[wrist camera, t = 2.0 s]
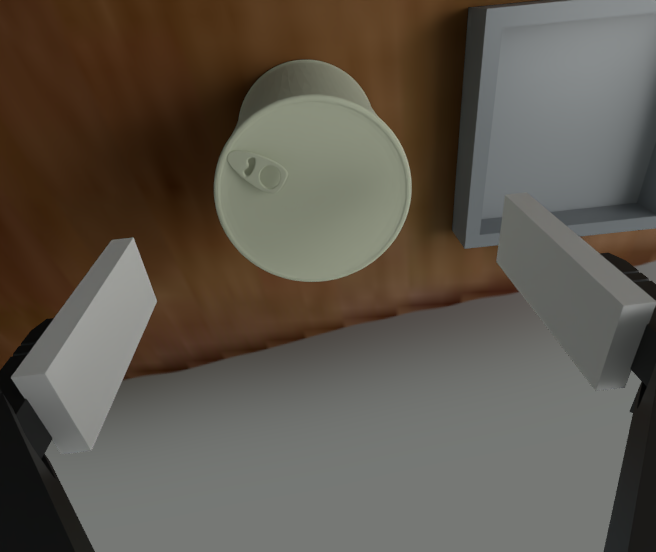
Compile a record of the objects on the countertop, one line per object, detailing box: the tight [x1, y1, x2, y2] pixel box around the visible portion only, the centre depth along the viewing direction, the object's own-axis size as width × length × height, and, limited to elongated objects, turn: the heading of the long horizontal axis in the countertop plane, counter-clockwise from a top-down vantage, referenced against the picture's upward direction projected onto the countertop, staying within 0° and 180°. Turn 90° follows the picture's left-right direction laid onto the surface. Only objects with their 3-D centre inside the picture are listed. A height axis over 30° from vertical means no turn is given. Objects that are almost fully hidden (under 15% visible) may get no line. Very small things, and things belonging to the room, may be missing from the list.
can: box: [214, 60, 411, 282], centre depth 25 cm, size 9×9×12 cm
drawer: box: [452, 0, 656, 249], centre depth 30 cm, size 17×15×3 cm
